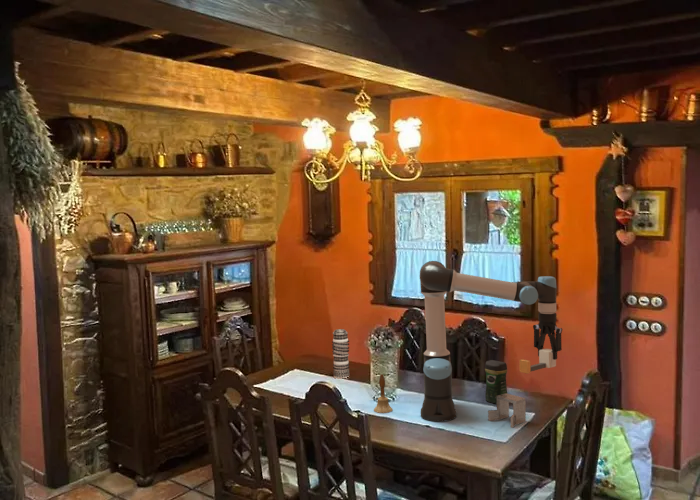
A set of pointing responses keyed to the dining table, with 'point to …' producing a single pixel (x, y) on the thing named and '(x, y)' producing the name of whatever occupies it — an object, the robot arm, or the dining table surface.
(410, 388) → the dining table surface
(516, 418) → the housing
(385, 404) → the hand bell
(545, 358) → the plug
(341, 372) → the decorative candle
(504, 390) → the coffee jar
